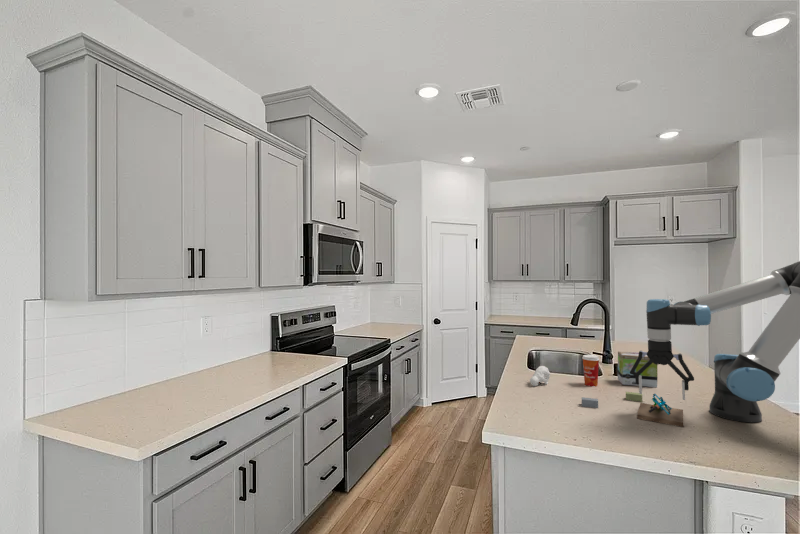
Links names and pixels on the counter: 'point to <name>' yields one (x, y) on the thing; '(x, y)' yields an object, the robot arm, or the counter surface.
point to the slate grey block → (590, 402)
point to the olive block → (633, 396)
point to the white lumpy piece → (540, 376)
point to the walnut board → (661, 415)
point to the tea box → (625, 366)
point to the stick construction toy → (659, 404)
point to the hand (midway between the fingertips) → (661, 396)
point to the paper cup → (590, 369)
